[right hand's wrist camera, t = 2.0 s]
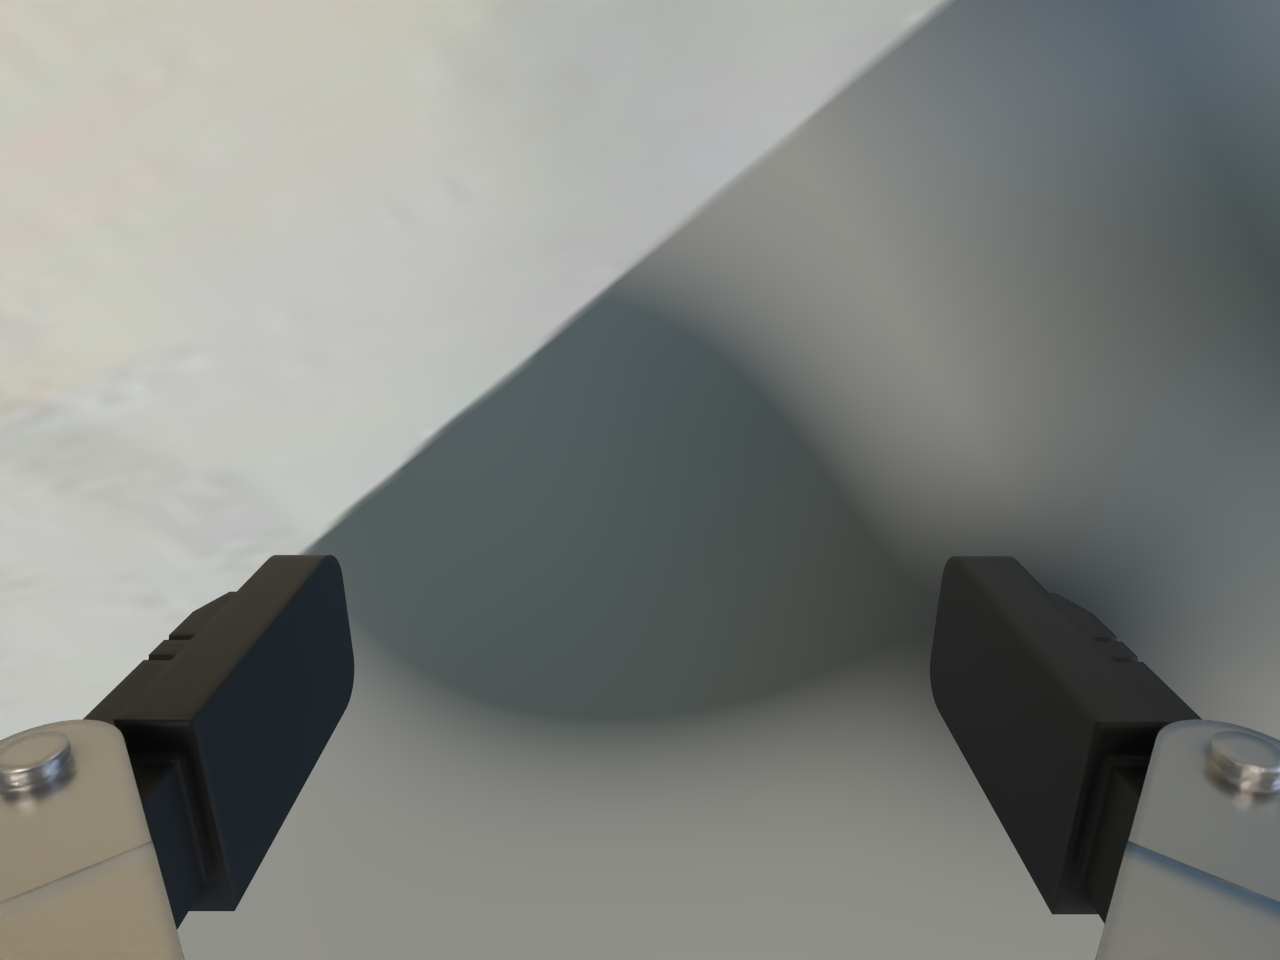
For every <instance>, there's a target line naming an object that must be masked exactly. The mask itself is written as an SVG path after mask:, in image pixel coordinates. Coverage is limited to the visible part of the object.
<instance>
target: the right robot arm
mask: <svg viewBox="0 0 1280 960" xmlns="http://www.w3.org/2000/svg"><path fill="white" fill-rule="evenodd" d="M930 678H931V687H932V692H933V697H934V700H935V703H936V706H937V708H938V710H939V712H940V714H941V716H942V717H943V719H944V721H945V723H946V725H947V726H948V728H949V730H950V732H951V734H952V735H953V737H954V739H955V741H956V743H957V744H958V746H959V748H960V750H961V752H962V753H963V755H964V757H965V759H966V760H967V762H968V764H969V766H970V768H971V769H972V771H973V773H974V775H975V777H976V778H977V780H978V782H979V784H980V786H981V787H982V789H983V791H984V793H985V795H986V796H987V798H988V800H989V802H990V803H991V805H992V807H993V809H994V811H995V812H996V814H997V816H998V818H999V820H1000V821H1001V823H1002V825H1003V827H1004V829H1005V830H1006V832H1007V834H1008V836H1009V838H1010V839H1011V841H1012V843H1013V845H1014V846H1015V848H1016V850H1017V852H1018V854H1019V855H1020V857H1021V859H1022V861H1023V863H1024V864H1025V866H1026V868H1027V870H1028V872H1029V873H1030V875H1031V877H1032V879H1033V881H1034V882H1035V884H1036V886H1037V888H1038V890H1039V891H1040V893H1041V895H1042V897H1043V898H1044V900H1045V902H1046V904H1047V906H1048V907H1049V909H1050V911H1051V913H1052V914H1099V915H1100V917H1101V919H1102V920H1103V922H1104V924H1105V925H1104V929H1103V933H1102V937H1101V940H1100V944H1099V948H1098V951H1097V955H1096V959H1095V960H1280V740H1277V739H1275V738H1273V737H1270V736H1268V735H1266V734H1263V733H1260V732H1257V731H1255V730H1252V729H1249V728H1245V727H1242V726H1238V725H1234V724H1229V723H1225V722H1219V721H1211V720H1202V719H1201V718H1200V717H1199V716H1198V715H1197V714H1196V713H1195V712H1194V711H1193V710H1192V709H1191V708H1190V707H1189V706H1188V705H1187V704H1186V703H1185V702H1184V701H1183V700H1181V699H1180V698H1179V697H1178V696H1177V695H1176V694H1175V693H1174V692H1173V691H1172V690H1171V689H1170V688H1169V687H1168V686H1167V685H1166V684H1165V683H1164V682H1163V681H1162V680H1161V679H1160V678H1159V677H1158V676H1157V675H1156V674H1155V673H1154V672H1153V671H1152V670H1151V669H1149V668H1148V667H1147V666H1146V665H1145V664H1144V663H1143V662H1138V660H1137V656H1136V655H1135V654H1134V653H1133V652H1132V651H1131V650H1130V649H1129V648H1128V647H1127V646H1126V645H1125V644H1124V643H1123V642H1117V637H1116V636H1115V635H1114V634H1113V633H1112V632H1111V631H1110V630H1109V629H1108V628H1107V627H1106V626H1105V625H1104V624H1103V623H1102V622H1101V621H1100V620H1099V619H1098V618H1097V617H1096V616H1095V615H1094V614H1093V613H1091V612H1089V611H1087V610H1086V609H1084V608H1082V607H1080V606H1078V605H1076V604H1074V603H1073V602H1071V601H1069V600H1067V599H1065V598H1063V597H1062V596H1060V595H1058V594H1056V593H1048V592H1047V591H1046V590H1045V589H1044V588H1043V587H1042V586H1041V585H1040V584H1039V583H1038V582H1037V581H1036V580H1035V579H1034V578H1033V577H1032V576H1031V575H1030V574H1029V573H1028V571H1027V570H1026V569H1025V568H1024V567H1023V566H1022V565H1021V564H1020V563H1019V562H1018V561H1017V560H1016V559H1014V558H1013V557H1010V556H953V557H951V558H950V559H949V560H948V561H947V563H946V565H945V568H944V571H943V576H942V583H941V590H940V597H939V604H938V611H937V618H936V625H935V632H934V639H933V646H932V653H931V662H930ZM353 681H354V657H353V649H352V642H351V635H350V628H349V620H348V613H347V606H346V599H345V592H344V584H343V577H342V572H341V568H340V565H339V562H338V561H337V559H336V558H335V557H334V556H332V555H274V556H272V557H270V558H269V559H268V560H267V561H266V562H265V563H264V564H263V565H262V566H261V567H260V568H259V569H258V570H257V571H256V572H255V574H254V575H253V576H252V577H251V578H250V579H249V580H248V581H247V582H246V583H245V584H244V585H243V586H242V587H241V588H240V589H239V590H238V591H237V592H228V593H227V594H225V595H223V596H221V597H219V598H217V599H216V600H214V601H212V602H210V603H208V604H206V605H205V606H203V607H201V608H199V609H197V610H195V611H194V612H192V613H191V614H190V615H189V616H188V617H187V618H186V619H185V620H184V621H183V622H182V623H181V624H180V625H179V626H178V627H177V628H176V629H175V630H174V631H173V632H172V633H171V634H170V635H169V640H164V641H163V642H162V643H161V644H160V645H159V646H158V647H157V648H156V649H155V650H154V651H152V652H151V653H150V654H149V659H148V660H143V661H142V662H141V663H140V664H139V665H138V666H137V667H136V668H135V669H134V670H133V671H132V672H131V673H130V674H129V675H128V676H127V677H126V678H125V679H124V680H123V681H122V682H121V683H120V684H119V685H118V686H117V687H116V688H115V689H114V690H113V691H112V692H111V693H110V694H108V695H107V696H106V697H105V698H104V699H103V700H102V701H101V702H100V703H99V704H98V705H97V706H96V707H95V708H94V709H93V710H92V711H91V712H90V713H89V714H88V715H87V716H86V717H85V718H84V719H83V720H69V721H60V722H55V723H50V724H46V725H42V726H38V727H35V728H31V729H28V730H25V731H22V732H20V733H17V734H14V735H12V736H10V737H7V738H5V739H3V740H0V960H185V959H184V955H183V951H182V947H181V944H180V940H179V937H178V933H177V929H178V927H179V926H180V924H181V923H182V921H183V919H184V918H185V916H186V914H187V913H188V911H235V909H236V907H237V905H238V904H239V902H240V900H241V898H242V896H243V895H244V893H245V891H246V889H247V887H248V886H249V884H250V882H251V880H252V878H253V877H254V875H255V873H256V871H257V869H258V867H259V866H260V864H261V862H262V860H263V858H264V857H265V855H266V853H267V851H268V849H269V847H270V846H271V844H272V842H273V840H274V838H275V837H276V835H277V833H278V831H279V829H280V828H281V826H282V824H283V822H284V820H285V818H286V817H287V815H288V813H289V811H290V809H291V808H292V806H293V804H294V802H295V800H296V798H297V797H298V795H299V793H300V791H301V789H302V788H303V786H304V784H305V782H306V780H307V778H308V777H309V775H310V773H311V771H312V769H313V768H314V766H315V764H316V762H317V760H318V758H319V757H320V755H321V753H322V751H323V750H324V748H325V746H326V744H327V742H328V740H329V739H330V737H331V735H332V733H333V731H334V729H335V728H336V726H337V724H338V722H339V720H340V719H341V717H342V715H343V713H344V711H345V710H346V708H347V705H348V703H349V700H350V697H351V693H352V688H353Z"/></svg>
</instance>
